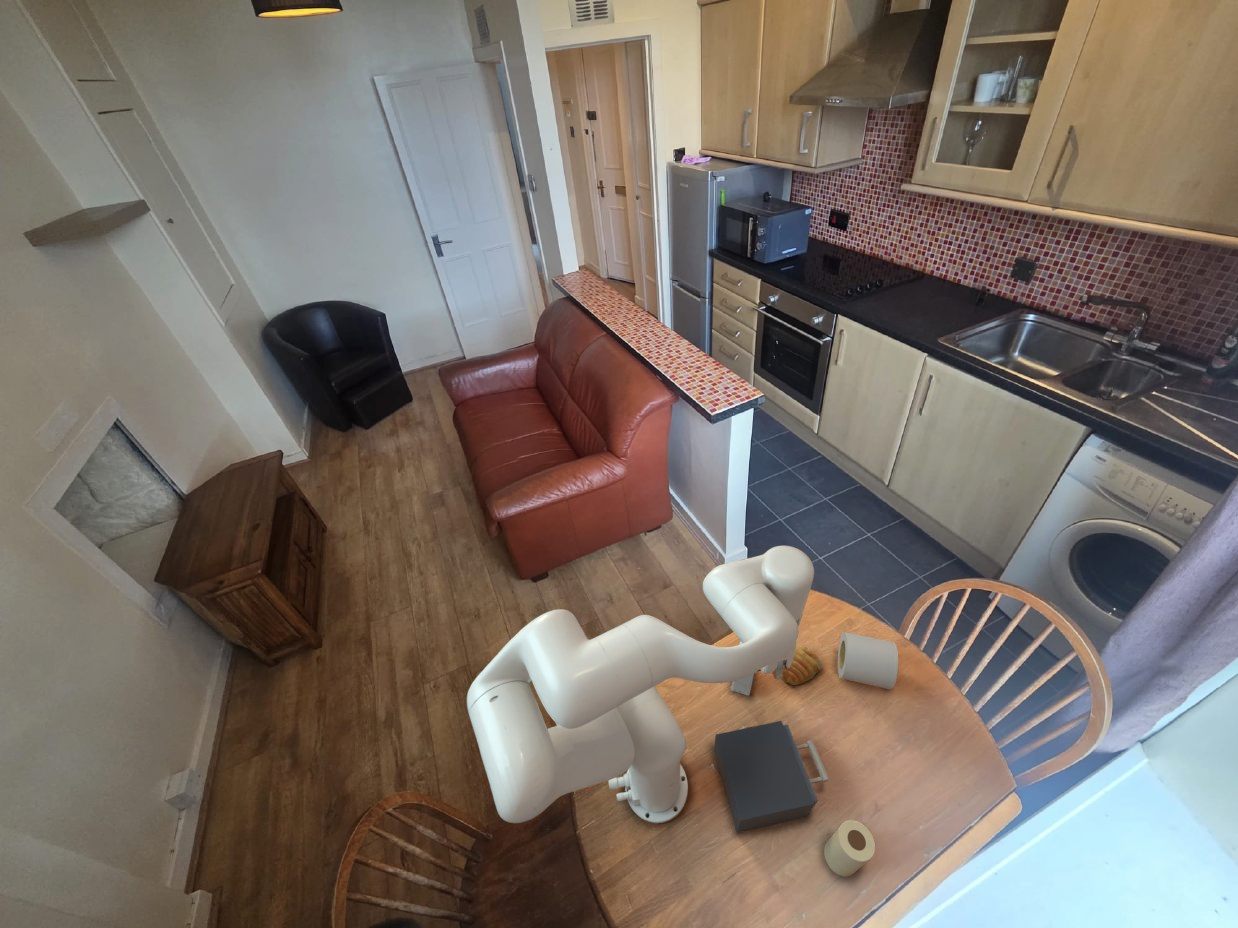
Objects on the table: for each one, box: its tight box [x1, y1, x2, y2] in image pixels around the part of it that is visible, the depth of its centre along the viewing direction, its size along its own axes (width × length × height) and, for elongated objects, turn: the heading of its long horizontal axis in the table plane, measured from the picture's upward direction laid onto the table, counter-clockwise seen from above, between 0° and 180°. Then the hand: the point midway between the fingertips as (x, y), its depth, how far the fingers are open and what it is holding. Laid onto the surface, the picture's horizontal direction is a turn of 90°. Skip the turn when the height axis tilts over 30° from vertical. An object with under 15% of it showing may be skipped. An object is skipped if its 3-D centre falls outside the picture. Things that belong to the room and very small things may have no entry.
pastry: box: [781, 646, 823, 686], centre depth 116 cm, size 9×7×4 cm
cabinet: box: [713, 720, 814, 833], centre depth 99 cm, size 14×15×9 cm
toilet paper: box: [837, 631, 899, 691], centre depth 113 cm, size 10×10×10 cm
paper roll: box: [823, 819, 876, 877], centre depth 88 cm, size 6×6×12 cm
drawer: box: [783, 724, 830, 812], centre depth 99 cm, size 17×13×7 cm
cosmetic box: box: [730, 640, 755, 696], centre depth 113 cm, size 6×4×12 cm
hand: (762, 665), depth 92 cm, fingers closed
